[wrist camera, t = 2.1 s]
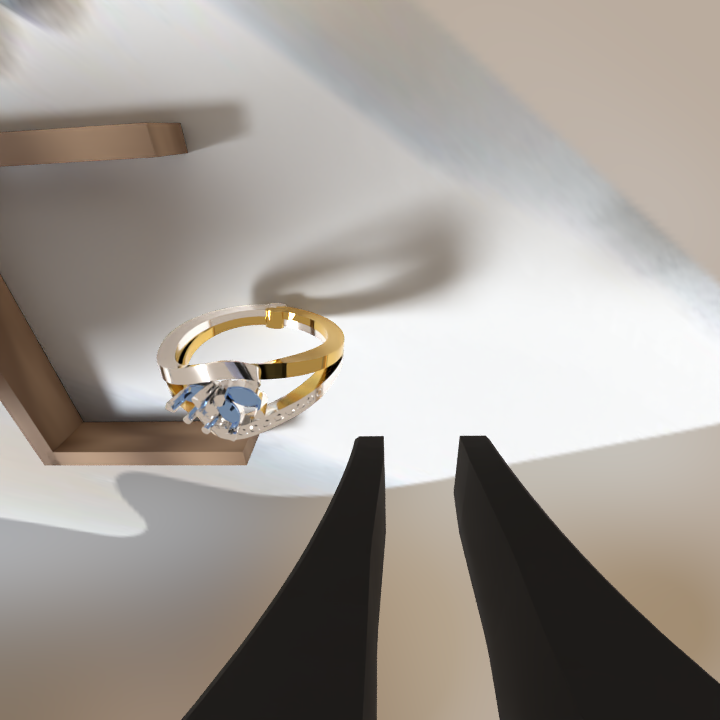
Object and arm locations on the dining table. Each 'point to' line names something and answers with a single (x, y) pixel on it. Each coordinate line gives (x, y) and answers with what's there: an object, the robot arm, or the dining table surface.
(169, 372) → the ring
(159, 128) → the brown u-shaped frame
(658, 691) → the robot arm
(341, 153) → the dining table surface
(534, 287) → the dining table surface
